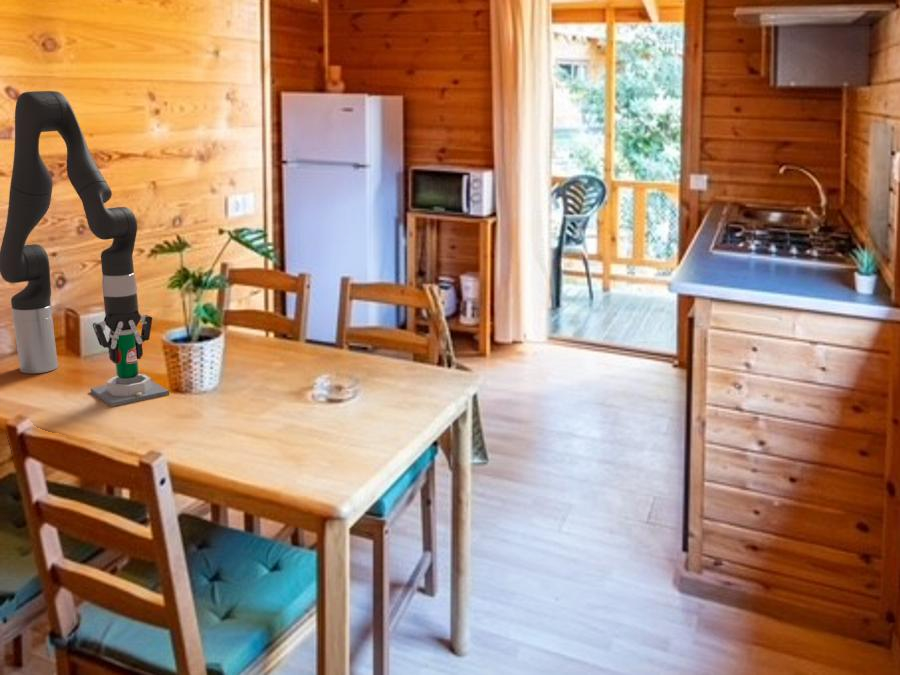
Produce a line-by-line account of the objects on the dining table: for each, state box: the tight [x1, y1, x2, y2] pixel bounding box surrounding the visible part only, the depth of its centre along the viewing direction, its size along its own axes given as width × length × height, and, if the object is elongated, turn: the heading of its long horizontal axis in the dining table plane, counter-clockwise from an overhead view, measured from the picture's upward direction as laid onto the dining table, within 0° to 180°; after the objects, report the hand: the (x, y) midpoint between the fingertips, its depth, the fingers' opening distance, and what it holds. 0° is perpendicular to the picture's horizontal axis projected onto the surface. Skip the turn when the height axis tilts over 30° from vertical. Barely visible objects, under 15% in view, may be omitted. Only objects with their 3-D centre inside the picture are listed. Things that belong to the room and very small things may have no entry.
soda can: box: [113, 329, 140, 379], centre depth 208 cm, size 5×5×12 cm
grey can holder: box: [90, 373, 170, 408], centre depth 210 cm, size 14×14×4 cm
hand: (126, 360), depth 208 cm, fingers closed on soda can, 5 cm apart
